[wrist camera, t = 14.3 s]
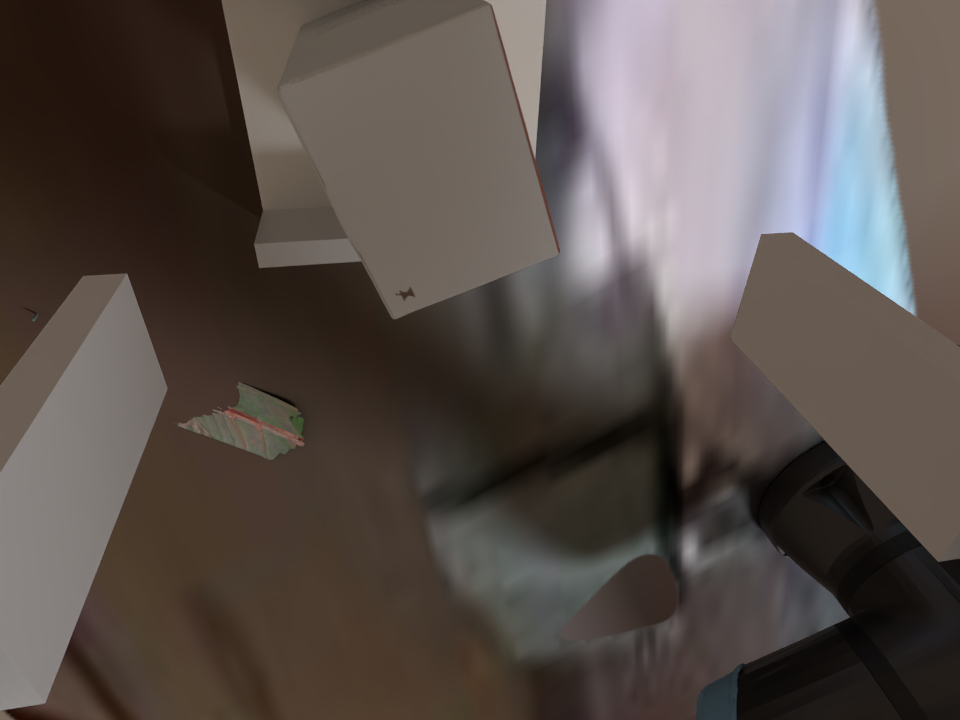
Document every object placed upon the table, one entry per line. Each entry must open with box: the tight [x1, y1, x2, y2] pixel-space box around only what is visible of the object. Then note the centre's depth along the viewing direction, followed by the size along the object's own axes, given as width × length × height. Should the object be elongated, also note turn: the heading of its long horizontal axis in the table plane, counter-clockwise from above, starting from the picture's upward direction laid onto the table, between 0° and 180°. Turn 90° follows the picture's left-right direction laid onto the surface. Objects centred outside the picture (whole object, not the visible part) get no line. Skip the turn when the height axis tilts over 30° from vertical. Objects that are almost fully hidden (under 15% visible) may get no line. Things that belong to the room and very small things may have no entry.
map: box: [32, 314, 304, 460], centre depth 36 cm, size 5×20×1 cm, turn 54°
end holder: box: [221, 0, 546, 268], centre depth 28 cm, size 14×13×5 cm
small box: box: [277, 0, 560, 319], centre depth 23 cm, size 8×6×13 cm
